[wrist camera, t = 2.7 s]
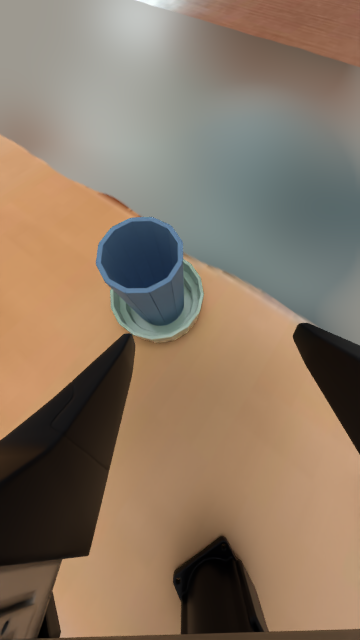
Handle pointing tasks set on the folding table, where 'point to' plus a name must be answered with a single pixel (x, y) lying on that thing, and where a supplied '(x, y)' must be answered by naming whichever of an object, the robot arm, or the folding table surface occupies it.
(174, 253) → the tumbler
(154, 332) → the bowl
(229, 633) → the robot arm
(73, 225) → the folding table surface
